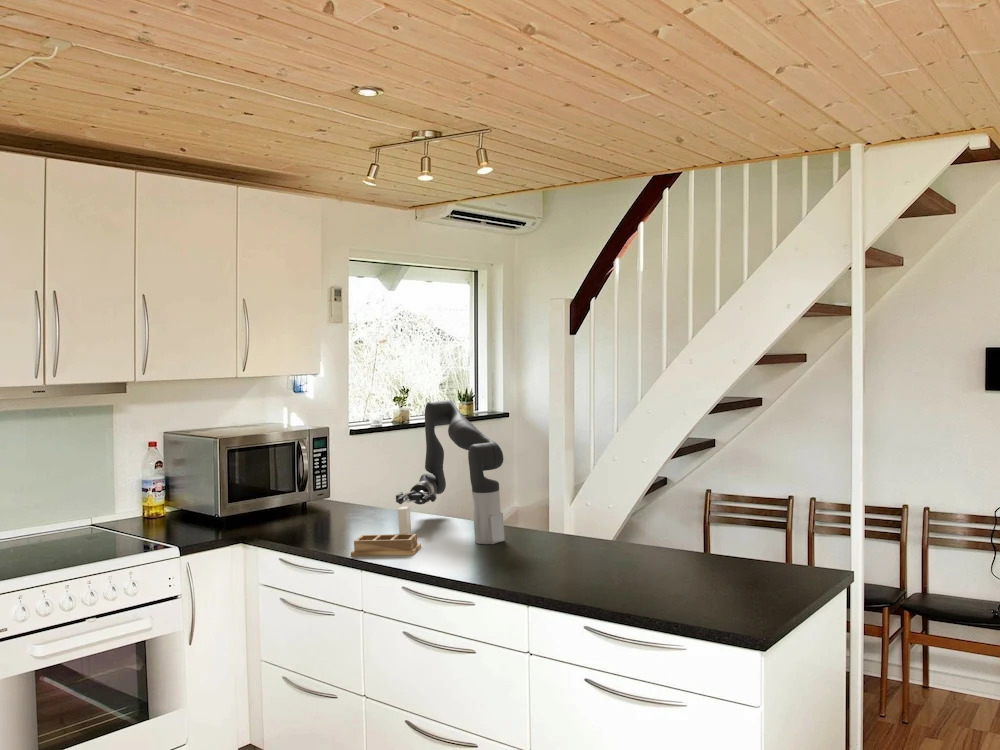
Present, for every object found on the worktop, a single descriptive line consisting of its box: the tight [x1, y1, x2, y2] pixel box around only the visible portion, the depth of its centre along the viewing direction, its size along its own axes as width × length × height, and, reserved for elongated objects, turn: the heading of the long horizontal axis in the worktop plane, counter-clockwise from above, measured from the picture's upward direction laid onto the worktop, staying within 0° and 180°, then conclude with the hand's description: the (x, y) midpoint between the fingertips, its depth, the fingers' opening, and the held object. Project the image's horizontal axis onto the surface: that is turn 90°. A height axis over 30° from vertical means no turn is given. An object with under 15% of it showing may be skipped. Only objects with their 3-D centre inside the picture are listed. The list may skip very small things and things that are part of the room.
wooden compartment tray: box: [350, 533, 422, 557], centre depth 283 cm, size 10×21×5 cm, turn 81°
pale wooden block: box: [397, 506, 412, 534], centre depth 295 cm, size 4×3×12 cm, turn 172°
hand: (411, 501), depth 306 cm, fingers open, 8 cm apart
